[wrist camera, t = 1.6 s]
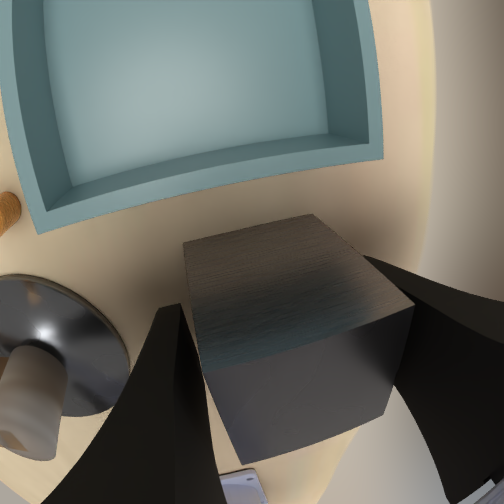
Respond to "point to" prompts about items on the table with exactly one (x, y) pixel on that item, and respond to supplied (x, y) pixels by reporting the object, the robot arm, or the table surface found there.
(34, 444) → the crank
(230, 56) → the tray
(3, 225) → the crank base
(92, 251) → the table surface
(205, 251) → the block
